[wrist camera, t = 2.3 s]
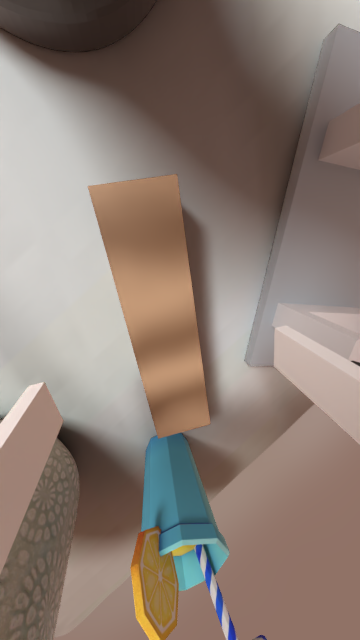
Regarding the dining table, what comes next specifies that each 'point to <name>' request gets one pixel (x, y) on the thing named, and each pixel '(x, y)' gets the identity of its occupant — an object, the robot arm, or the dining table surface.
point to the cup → (175, 540)
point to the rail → (156, 295)
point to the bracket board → (319, 218)
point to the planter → (41, 553)
